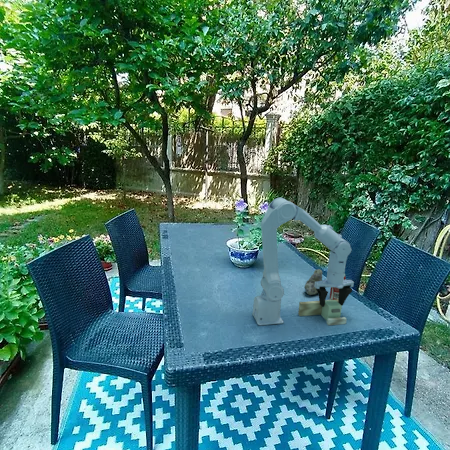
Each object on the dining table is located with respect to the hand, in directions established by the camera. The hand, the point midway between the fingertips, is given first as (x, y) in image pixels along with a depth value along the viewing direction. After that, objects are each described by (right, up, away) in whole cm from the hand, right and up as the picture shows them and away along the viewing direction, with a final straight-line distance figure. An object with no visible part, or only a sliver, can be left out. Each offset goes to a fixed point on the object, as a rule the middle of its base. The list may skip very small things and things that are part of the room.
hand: (331, 304), depth 108 cm
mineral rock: (-1, 0, +23) cm, 23 cm away
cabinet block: (0, -5, +1) cm, 5 cm away
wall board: (-3, -5, 0) cm, 6 cm away
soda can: (+7, -2, +15) cm, 17 cm away
